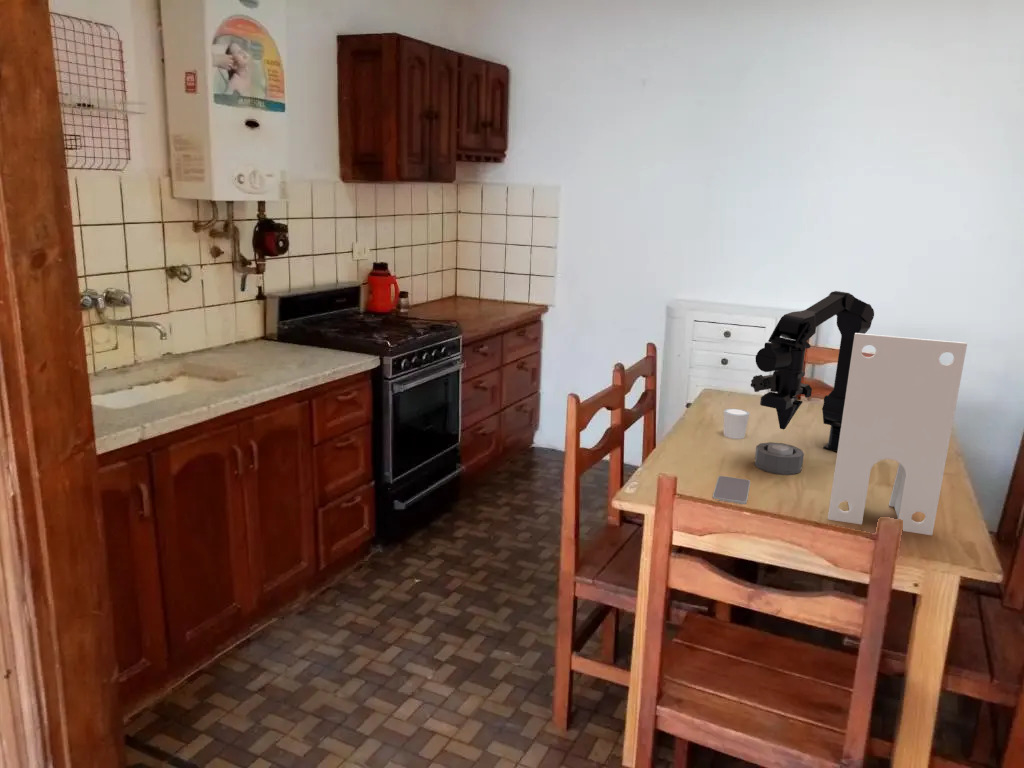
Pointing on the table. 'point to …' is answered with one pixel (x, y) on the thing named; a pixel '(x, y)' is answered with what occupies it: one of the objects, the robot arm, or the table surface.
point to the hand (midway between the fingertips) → (782, 428)
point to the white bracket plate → (897, 425)
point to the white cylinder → (735, 423)
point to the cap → (780, 449)
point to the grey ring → (778, 460)
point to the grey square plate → (732, 489)
